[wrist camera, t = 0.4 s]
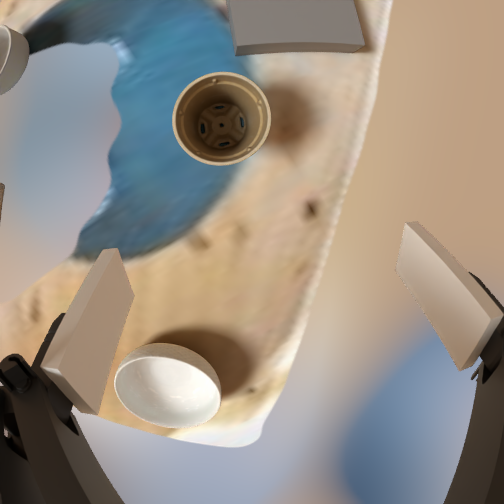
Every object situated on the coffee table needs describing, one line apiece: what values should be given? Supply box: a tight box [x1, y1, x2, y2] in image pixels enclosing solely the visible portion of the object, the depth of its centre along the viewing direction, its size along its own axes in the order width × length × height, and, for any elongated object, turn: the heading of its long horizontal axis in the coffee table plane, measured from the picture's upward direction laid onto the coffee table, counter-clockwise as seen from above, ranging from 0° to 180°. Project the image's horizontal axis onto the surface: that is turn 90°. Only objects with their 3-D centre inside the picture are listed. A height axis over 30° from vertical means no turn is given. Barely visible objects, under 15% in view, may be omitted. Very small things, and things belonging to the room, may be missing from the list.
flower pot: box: [172, 72, 271, 165], centre depth 29 cm, size 9×9×9 cm
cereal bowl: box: [114, 343, 222, 428], centre depth 42 cm, size 17×17×7 cm
